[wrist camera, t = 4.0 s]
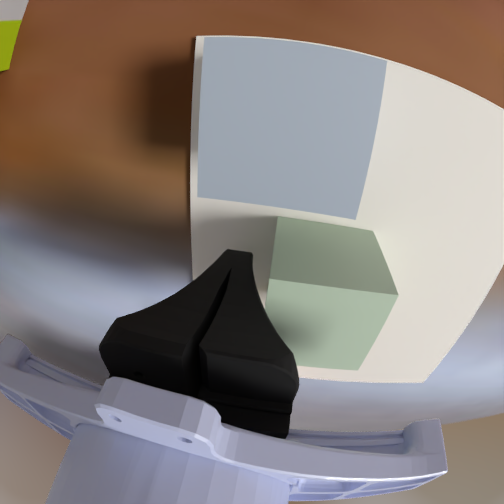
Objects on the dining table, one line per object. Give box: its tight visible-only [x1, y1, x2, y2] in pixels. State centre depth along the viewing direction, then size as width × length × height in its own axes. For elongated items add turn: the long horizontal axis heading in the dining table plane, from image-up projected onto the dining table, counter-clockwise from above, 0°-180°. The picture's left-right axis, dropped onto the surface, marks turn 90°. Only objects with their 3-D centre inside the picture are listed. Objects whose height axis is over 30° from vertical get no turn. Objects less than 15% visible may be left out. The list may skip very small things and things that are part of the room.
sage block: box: [265, 216, 399, 370], centre depth 12 cm, size 4×4×4 cm
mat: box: [190, 36, 504, 383], centre depth 14 cm, size 20×18×1 cm
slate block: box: [197, 37, 387, 220], centre depth 9 cm, size 4×4×4 cm
